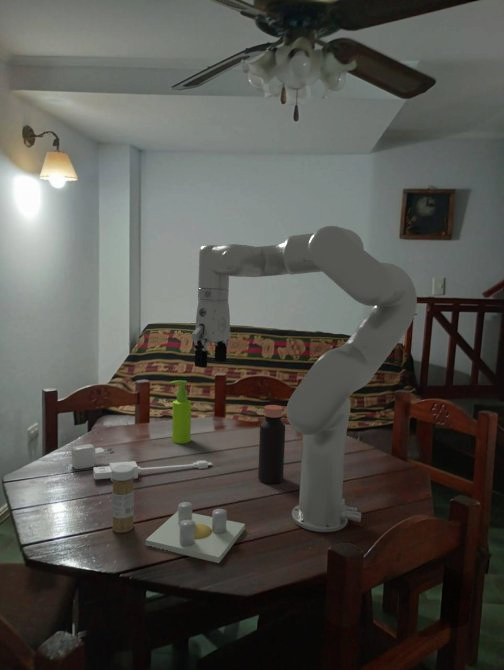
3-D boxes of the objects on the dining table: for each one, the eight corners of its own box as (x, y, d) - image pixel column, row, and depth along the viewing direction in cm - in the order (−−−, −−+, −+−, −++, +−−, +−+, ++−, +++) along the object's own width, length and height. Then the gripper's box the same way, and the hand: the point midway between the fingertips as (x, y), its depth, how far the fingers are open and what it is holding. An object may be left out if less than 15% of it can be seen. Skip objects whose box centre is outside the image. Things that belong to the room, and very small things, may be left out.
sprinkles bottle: (128, 521, 110) (128, 462, 108) (137, 529, 106) (138, 468, 105) (108, 527, 107) (108, 466, 105) (117, 536, 103) (117, 473, 102)
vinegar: (287, 478, 136) (290, 406, 134) (274, 486, 131) (277, 412, 128) (266, 472, 140) (269, 402, 138) (253, 480, 134) (255, 407, 132)
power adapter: (110, 459, 146) (110, 439, 145) (115, 464, 142) (115, 444, 141) (70, 465, 140) (70, 445, 140) (74, 471, 136) (74, 450, 136)
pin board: (244, 529, 108) (245, 506, 107) (218, 563, 95) (219, 537, 94) (178, 515, 113) (178, 493, 113) (145, 545, 100) (145, 520, 100)
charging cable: (214, 472, 142) (214, 461, 141) (94, 483, 129) (95, 470, 128) (208, 466, 146) (209, 455, 146) (92, 475, 133) (93, 463, 133)
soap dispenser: (167, 438, 166) (168, 379, 164) (188, 437, 168) (189, 378, 166) (170, 444, 160) (171, 383, 158) (191, 442, 163) (193, 382, 160)
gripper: (208, 297, 115) (206, 371, 117) (242, 296, 130) (239, 360, 132) (181, 295, 118) (179, 367, 120) (217, 294, 134) (214, 357, 136)
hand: (210, 363), depth 126 cm, fingers open, 9 cm apart
